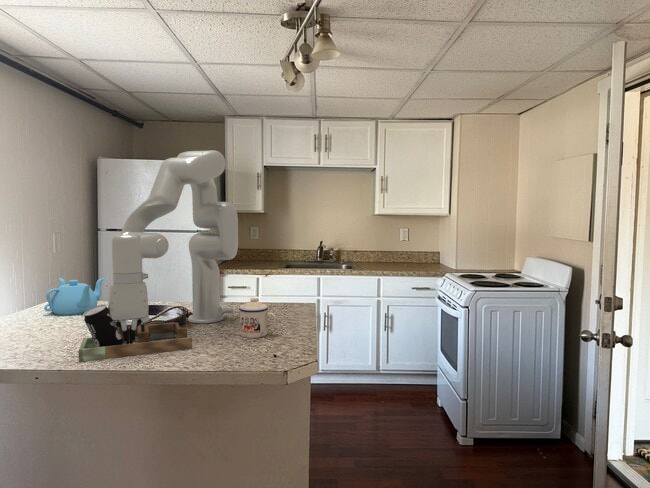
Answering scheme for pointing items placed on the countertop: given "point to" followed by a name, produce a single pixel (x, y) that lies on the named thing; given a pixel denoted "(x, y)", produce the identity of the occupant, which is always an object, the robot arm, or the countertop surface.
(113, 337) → the beverage can
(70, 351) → the countertop surface
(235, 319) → the countertop surface
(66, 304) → the teapot
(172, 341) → the wooden tray
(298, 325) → the countertop surface
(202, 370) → the countertop surface
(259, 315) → the teacup with lid
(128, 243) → the robot arm
